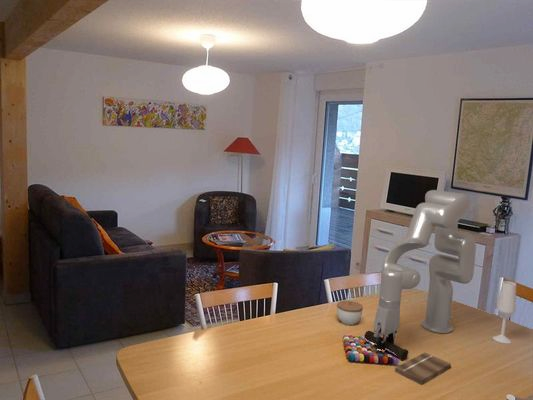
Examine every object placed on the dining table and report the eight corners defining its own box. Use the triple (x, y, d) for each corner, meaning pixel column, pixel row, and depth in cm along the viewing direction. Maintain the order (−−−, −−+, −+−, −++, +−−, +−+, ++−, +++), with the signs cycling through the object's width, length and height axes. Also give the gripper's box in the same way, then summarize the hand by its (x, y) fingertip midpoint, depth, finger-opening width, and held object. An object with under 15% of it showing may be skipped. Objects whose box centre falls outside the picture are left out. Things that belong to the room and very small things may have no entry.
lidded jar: (366, 323, 194) (368, 302, 192) (350, 329, 187) (352, 307, 185) (346, 315, 202) (348, 295, 200) (330, 320, 195) (332, 299, 193)
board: (424, 356, 167) (425, 352, 167) (450, 367, 160) (451, 363, 159) (394, 371, 155) (395, 367, 154) (421, 384, 147) (422, 380, 147)
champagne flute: (496, 334, 190) (503, 279, 187) (513, 340, 185) (521, 283, 182) (490, 338, 185) (497, 282, 182) (507, 344, 181) (515, 286, 177)
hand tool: (408, 359, 164) (409, 347, 164) (401, 362, 162) (402, 349, 161) (369, 338, 180) (370, 327, 179) (361, 341, 177) (362, 329, 177)
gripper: (394, 295, 175) (389, 340, 178) (367, 304, 164) (362, 351, 167) (411, 301, 169) (406, 347, 172) (384, 311, 158) (379, 360, 161)
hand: (385, 349), depth 169 cm, fingers open, 4 cm apart
